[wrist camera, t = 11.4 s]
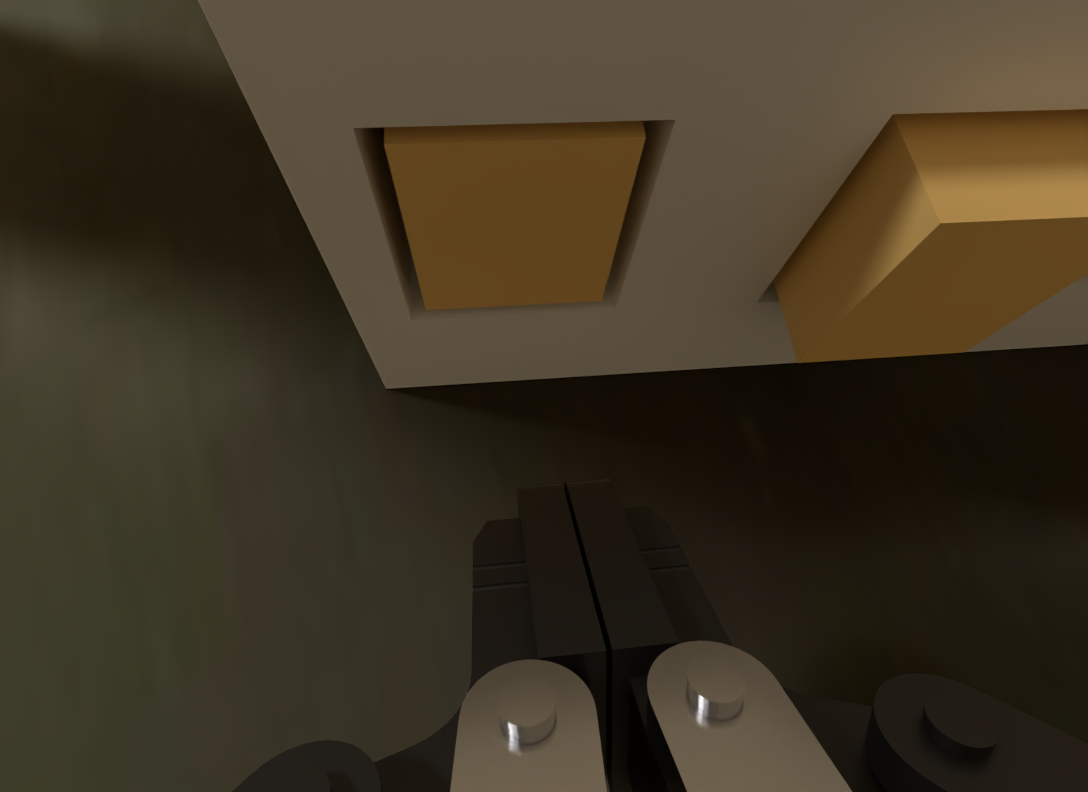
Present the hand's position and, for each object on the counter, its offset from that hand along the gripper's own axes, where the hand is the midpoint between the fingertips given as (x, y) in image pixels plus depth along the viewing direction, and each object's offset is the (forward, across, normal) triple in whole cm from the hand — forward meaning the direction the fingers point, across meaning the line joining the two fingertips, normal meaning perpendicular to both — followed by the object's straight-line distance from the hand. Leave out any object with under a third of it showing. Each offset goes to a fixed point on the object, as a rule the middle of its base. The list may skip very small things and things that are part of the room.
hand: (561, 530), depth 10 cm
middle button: (+6, -9, -2) cm, 11 cm away
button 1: (+7, 0, -3) cm, 8 cm away
